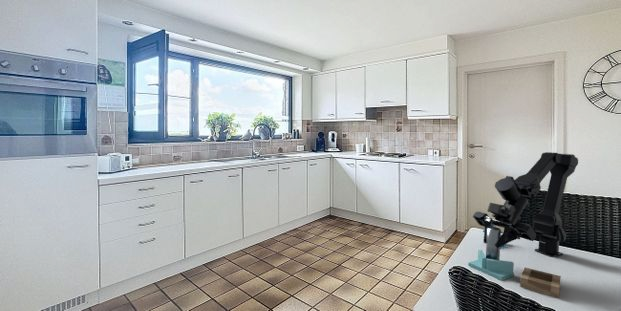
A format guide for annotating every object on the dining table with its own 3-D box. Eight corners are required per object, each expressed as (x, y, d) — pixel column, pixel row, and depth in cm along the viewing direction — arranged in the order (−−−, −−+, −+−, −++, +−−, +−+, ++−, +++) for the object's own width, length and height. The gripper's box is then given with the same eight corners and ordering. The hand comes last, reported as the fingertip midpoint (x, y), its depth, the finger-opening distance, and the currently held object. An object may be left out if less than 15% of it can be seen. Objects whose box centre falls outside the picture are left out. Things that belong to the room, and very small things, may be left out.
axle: (495, 260, 102) (496, 226, 101) (501, 265, 98) (503, 230, 97) (483, 260, 103) (484, 226, 102) (489, 265, 99) (490, 230, 98)
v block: (479, 261, 107) (480, 249, 107) (515, 276, 96) (515, 262, 96) (467, 265, 104) (467, 252, 104) (502, 281, 93) (503, 266, 93)
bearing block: (524, 276, 96) (524, 267, 96) (560, 285, 90) (560, 276, 90) (520, 286, 90) (520, 277, 90) (558, 297, 84) (559, 287, 83)
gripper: (476, 189, 109) (455, 223, 105) (532, 200, 92) (509, 240, 88) (490, 208, 113) (469, 241, 109) (545, 221, 96) (523, 260, 92)
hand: (490, 244), depth 99 cm, fingers closed on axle, 4 cm apart
